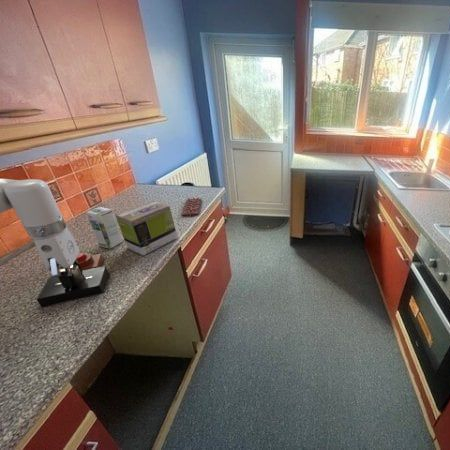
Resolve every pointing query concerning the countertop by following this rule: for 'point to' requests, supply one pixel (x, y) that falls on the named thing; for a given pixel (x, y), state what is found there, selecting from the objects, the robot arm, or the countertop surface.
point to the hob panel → (74, 287)
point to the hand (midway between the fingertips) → (73, 280)
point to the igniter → (91, 261)
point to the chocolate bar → (192, 207)
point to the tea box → (147, 227)
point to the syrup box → (104, 227)
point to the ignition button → (81, 256)
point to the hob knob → (75, 272)
